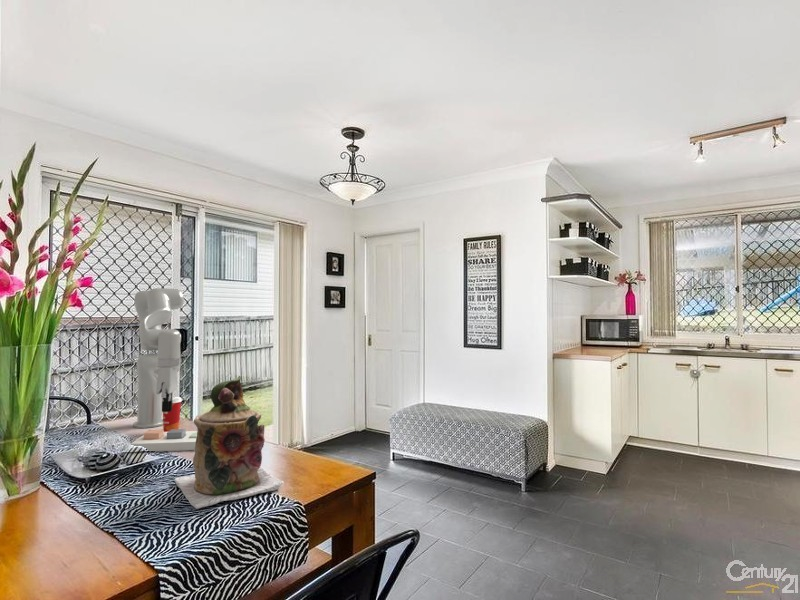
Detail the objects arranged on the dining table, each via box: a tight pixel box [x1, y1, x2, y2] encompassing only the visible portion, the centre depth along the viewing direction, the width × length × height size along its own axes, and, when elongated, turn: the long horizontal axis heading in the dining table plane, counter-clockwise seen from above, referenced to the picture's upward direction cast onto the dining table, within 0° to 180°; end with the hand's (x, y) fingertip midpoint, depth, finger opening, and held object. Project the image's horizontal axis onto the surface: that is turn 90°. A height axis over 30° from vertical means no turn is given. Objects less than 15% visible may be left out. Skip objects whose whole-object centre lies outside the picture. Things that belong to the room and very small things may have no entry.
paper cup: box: [162, 396, 183, 432], centre depth 189 cm, size 8×8×14 cm
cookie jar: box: [174, 374, 284, 510], centre depth 131 cm, size 25×25×32 cm
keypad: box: [129, 430, 197, 452], centre depth 171 cm, size 16×26×3 cm, turn 100°
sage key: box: [189, 433, 197, 438], centre depth 172 cm, size 5×5×2 cm
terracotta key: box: [143, 429, 164, 440], centre depth 170 cm, size 5×5×2 cm
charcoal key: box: [167, 428, 187, 439], centre depth 171 cm, size 5×5×2 cm
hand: (166, 411), depth 171 cm, fingers closed
